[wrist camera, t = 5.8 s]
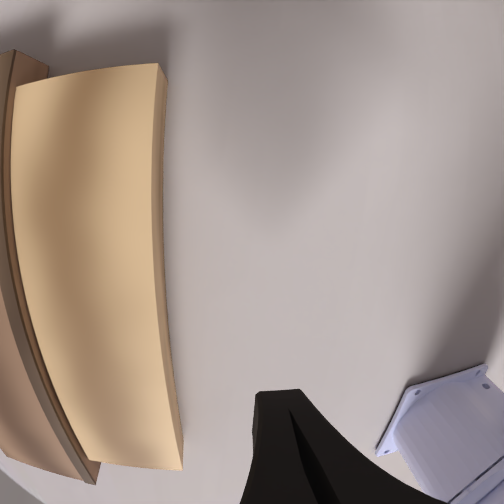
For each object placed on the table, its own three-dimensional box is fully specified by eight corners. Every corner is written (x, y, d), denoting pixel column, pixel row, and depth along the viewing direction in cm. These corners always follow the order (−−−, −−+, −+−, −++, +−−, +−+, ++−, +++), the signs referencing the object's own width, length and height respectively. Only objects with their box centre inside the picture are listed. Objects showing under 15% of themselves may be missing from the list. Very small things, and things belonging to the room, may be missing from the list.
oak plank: (169, 83, 11) (158, 62, 8) (183, 435, 17) (182, 470, 14) (49, 97, 10) (16, 86, 8) (98, 427, 16) (89, 459, 13)
